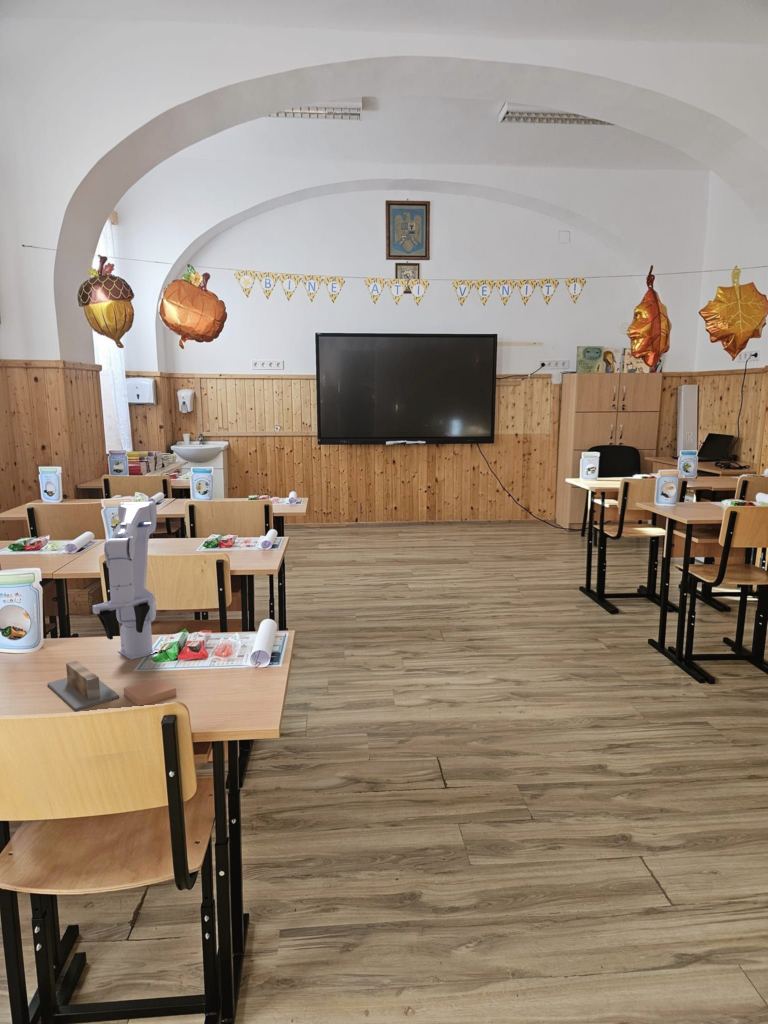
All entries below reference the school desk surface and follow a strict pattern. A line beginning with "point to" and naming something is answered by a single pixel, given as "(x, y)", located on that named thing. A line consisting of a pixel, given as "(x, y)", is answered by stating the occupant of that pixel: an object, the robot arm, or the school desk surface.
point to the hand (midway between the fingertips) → (124, 635)
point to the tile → (149, 691)
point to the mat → (77, 698)
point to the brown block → (83, 680)
